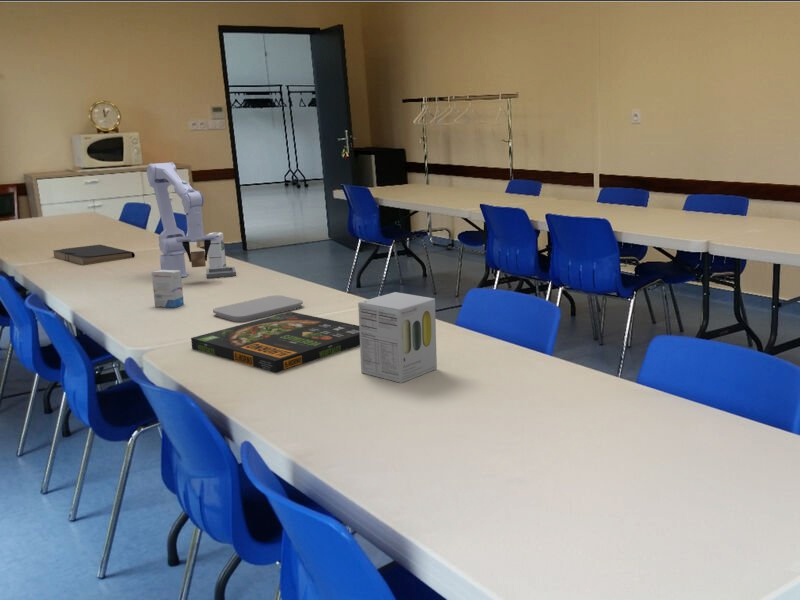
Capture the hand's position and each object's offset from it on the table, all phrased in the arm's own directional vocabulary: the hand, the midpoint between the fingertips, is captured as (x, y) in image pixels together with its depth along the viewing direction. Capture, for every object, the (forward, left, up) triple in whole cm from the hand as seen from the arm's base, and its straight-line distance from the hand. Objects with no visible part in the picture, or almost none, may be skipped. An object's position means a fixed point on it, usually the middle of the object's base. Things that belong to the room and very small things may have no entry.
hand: (198, 260), depth 303 cm
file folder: (-47, +79, -9) cm, 92 cm away
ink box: (-10, -35, -9) cm, 37 cm away
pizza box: (+22, -95, -9) cm, 98 cm away
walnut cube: (0, 0, -2) cm, 2 cm away
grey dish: (+8, +12, -8) cm, 17 cm away
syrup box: (+7, +27, -9) cm, 29 cm away
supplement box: (+46, -128, -9) cm, 136 cm away
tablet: (+18, -54, -9) cm, 58 cm away
